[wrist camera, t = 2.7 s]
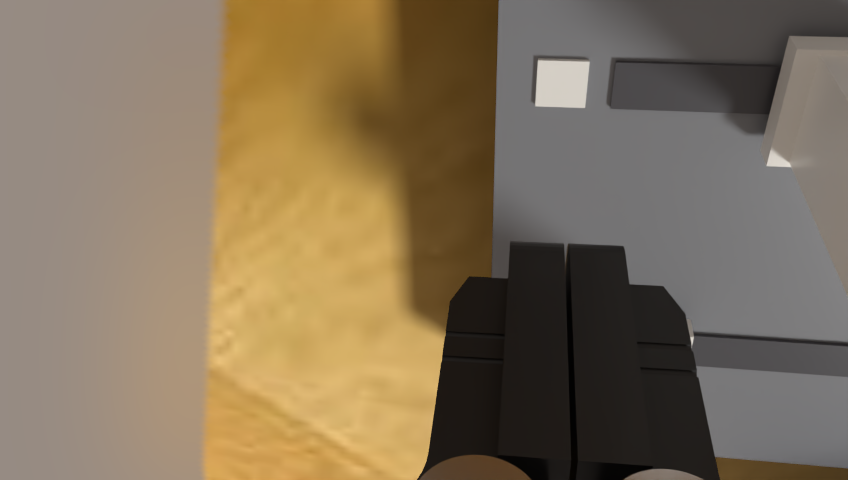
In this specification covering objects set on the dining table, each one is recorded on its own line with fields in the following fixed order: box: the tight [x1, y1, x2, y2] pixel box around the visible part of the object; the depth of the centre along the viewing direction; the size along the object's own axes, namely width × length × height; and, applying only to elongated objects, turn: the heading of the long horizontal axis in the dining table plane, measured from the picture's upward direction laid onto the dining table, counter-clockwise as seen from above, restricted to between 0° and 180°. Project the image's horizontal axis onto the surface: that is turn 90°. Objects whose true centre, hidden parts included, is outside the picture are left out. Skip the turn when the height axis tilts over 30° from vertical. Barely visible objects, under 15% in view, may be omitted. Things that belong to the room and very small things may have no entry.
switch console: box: [492, 0, 848, 468], centre depth 17 cm, size 13×22×3 cm, turn 2°
